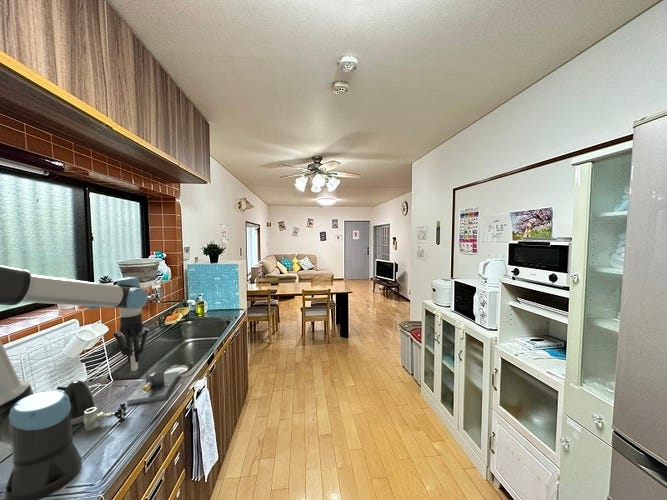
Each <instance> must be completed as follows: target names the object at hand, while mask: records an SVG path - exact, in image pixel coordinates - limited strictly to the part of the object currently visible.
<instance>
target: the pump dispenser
mask: <svg viewBox="0 0 667 500" xmlns="http://www.w3.org/2000/svg"><path fill="white" fill-rule="evenodd" d="M56 391H61V392H64V393H66V394H67V395H68V397H69V401H70V404H71V410H70V413H71V426H75V425H79V424H81V423H84V422H83V421H84V417H85V416H84V411H86V410H87V409H90V408H94V407H96V404H95V403H96V402H95V399H94V394H93V392H92V391H91V389H90V387H89V386H88V385H87V384H86V382H84V381H83V380H74V381H71V382H70V383H69V384H68V385H66V386H57V387H56Z"/></svg>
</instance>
